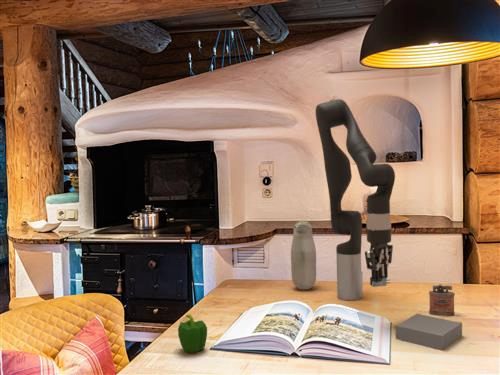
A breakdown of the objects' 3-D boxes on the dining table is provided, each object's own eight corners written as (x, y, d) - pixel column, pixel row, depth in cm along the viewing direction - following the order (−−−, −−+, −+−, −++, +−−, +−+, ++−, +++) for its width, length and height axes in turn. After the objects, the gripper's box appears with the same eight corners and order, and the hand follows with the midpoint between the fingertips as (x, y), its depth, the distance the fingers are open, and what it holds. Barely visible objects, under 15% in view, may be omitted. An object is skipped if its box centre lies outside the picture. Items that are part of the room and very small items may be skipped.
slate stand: (417, 326, 160) (417, 313, 159) (462, 336, 150) (462, 322, 150) (395, 338, 150) (395, 325, 149) (442, 350, 140) (442, 336, 140)
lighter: (429, 314, 170) (428, 285, 170) (429, 311, 173) (428, 283, 173) (454, 316, 168) (454, 287, 167) (454, 313, 171) (454, 284, 170)
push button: (386, 282, 165) (385, 252, 165) (394, 286, 160) (393, 255, 159) (367, 284, 164) (366, 253, 163) (374, 288, 159) (373, 257, 158)
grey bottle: (289, 286, 212) (287, 220, 210) (313, 285, 213) (312, 218, 211) (294, 292, 202) (292, 223, 200) (319, 291, 203) (317, 222, 201)
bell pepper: (210, 353, 143) (209, 318, 142) (181, 357, 141) (180, 322, 140) (204, 343, 151) (203, 310, 150) (177, 346, 149) (175, 313, 148)
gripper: (379, 223, 168) (380, 273, 169) (356, 229, 158) (357, 282, 159) (400, 224, 163) (401, 276, 164) (378, 231, 153) (379, 286, 154)
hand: (379, 279), depth 162 cm, fingers closed on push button, 5 cm apart
